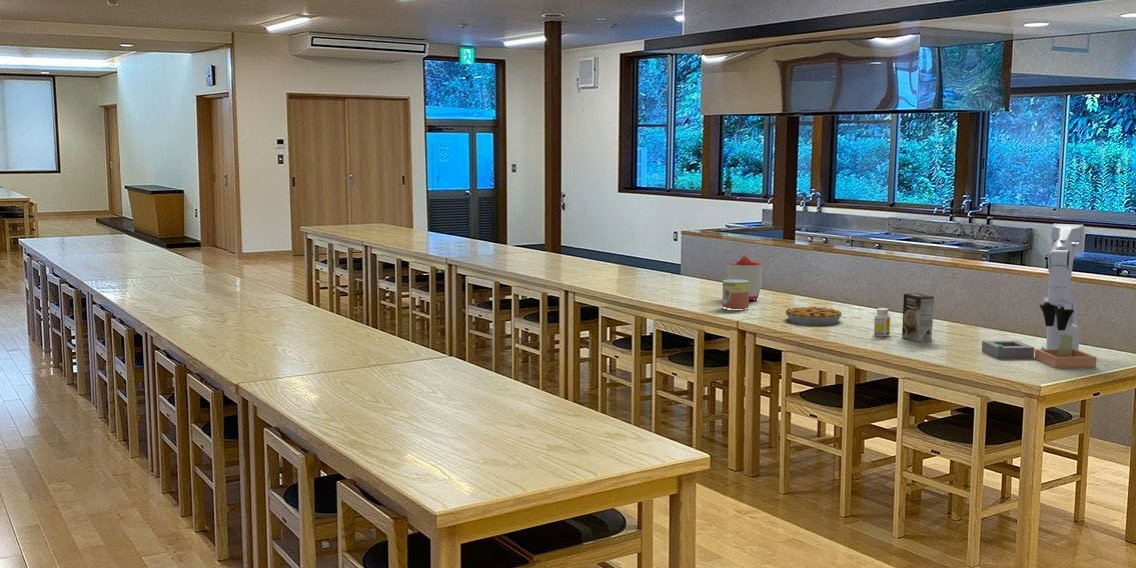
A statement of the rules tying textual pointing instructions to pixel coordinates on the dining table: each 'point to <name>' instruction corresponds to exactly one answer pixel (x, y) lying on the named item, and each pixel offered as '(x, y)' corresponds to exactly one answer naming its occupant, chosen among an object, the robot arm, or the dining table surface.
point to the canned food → (735, 294)
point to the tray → (1065, 359)
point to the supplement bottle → (882, 322)
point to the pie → (813, 315)
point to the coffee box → (917, 317)
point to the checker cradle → (1008, 349)
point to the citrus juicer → (747, 274)
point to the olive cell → (1065, 345)
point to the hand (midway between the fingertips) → (1055, 328)
